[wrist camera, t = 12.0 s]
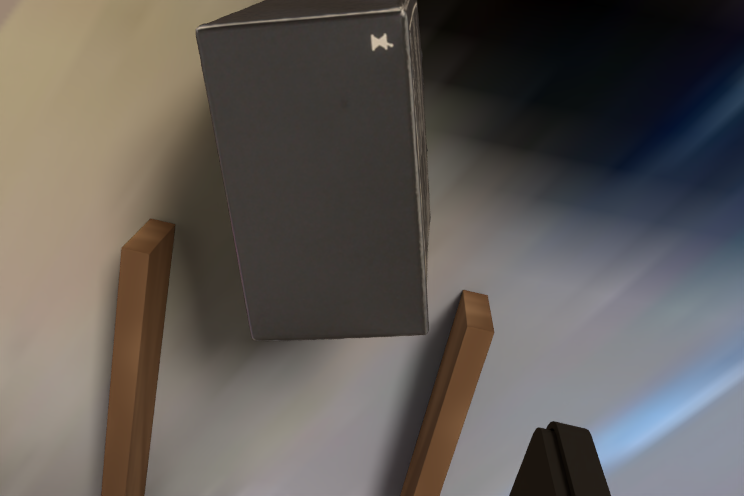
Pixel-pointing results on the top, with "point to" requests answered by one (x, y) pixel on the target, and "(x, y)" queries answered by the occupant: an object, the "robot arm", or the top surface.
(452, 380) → the wooden u-shaped frame
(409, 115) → the small box
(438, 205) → the top surface
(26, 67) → the top surface
